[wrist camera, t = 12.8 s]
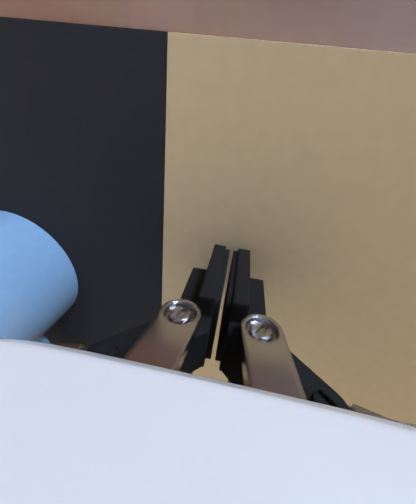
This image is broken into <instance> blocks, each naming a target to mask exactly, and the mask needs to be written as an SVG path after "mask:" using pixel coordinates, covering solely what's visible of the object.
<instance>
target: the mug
mask: <svg viewBox="0 0 416 504" xmlns="http://www.w3.org/2000/svg"><path fill="white" fill-rule="evenodd" d="M77 295H78V280H77V275H76V272H75V269H74V267H73V265H72V263H71V261H70V259H69V257H68V256H67V254H66V253H65V251H64V250H63V249H62V247H61V246H60V245H59V244H58V243H57V242H56V241H55V240H54V239H53V238H52V237H51V236H50V235H49V234H48V233H47V232H46V231H44V230H43V229H42V228H40V227H39V226H38V225H36V224H35V223H33V222H31V221H29V220H28V219H26V218H24V217H21V216H19V215H17V214H14V213H11V212H7V211H2V210H0V339H18V340H29V341H35V342H41V343H50V341H49V340H48V339H47V338H46V336H45V335H44V334H45V333H46V332H47V331H48V330H49V329H50V328H51V327H52V326H53V325H54V324H55V323H56V322H57V321H58V320H59V319H60V318H61V317H62V316H63V315H64V314H65V313H66V312H67V311H68V310H69V309H70V308H71V307H72V306H73V305H74V303H75V301H76V298H77Z"/></svg>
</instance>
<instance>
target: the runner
mask: <svg viewBox="0 0 416 504" xmlns="http://www.w3.org/2000/svg"><path fill="white" fill-rule="evenodd" d="M0 210H2V211H7V212H11V213H14V214H17V215H19V216H21V217H24V218H26V219H28V220H29V221H31V222H33V223H35V224H36V225H38V226H39V227H40V228H42V229H43V230H44V231H46V232H47V233H48V234H49V235H50V236H51V237H52V238H53V239H54V240H55V241H56V242H57V243H58V244H59V245H60V246H61V247H62V249H63V250H64V251H65V253H66V254H67V256H68V257H69V259H70V261H71V263H72V265H73V267H74V269H75V272H76V275H77V280H78V295H77V298H76V301H75V303H74V305H73V306H72V307H71V308H70V309H69V310H68V311H67V312H66V313H65V314H64V315H63V316H62V317H61V318H60V319H59V320H58V321H57V322H56V323H55V324H54V325H53V326H52V327H51V328H50V329H49V330H48V331H47V332H46V333H45V334H44V335H45V336H46V338H47V339H48V340H49V341H50V343H84V347H89V346H91V345H92V344H94V343H96V342H98V341H100V340H102V339H105V338H108V337H110V336H113V335H115V334H118V333H121V332H123V331H126V330H129V329H131V328H134V327H136V326H139V325H142V324H144V323H147V322H150V321H151V320H152V318H153V317H154V316H155V315H156V313H157V312H158V311H159V309H160V308H161V307H162V306H163V305H164V304H165V303H166V302H168V301H170V300H174V299H180V298H181V296H182V293H183V291H184V289H185V286H186V284H187V281H188V279H189V277H190V274H191V272H192V269H193V268H194V267H195V268H201V269H206V270H207V268H208V265H209V261H210V258H211V255H212V252H213V249H214V245H215V244H217V245H222V246H226V249H228V250H230V253H229V259H228V265H227V270H226V276H225V282H224V288H223V294H222V299H221V305H220V310H219V316H218V321H217V327H216V333H215V338H214V344H213V349H212V355H211V359H207V358H205V363H204V367H200V368H199V369H197V370H195V371H193V374H194V375H198V376H203V377H207V378H211V379H216V380H220V381H225V382H227V377H226V376H225V375H224V374H223V372H222V371H220V370H219V366H220V361H216V360H215V357H216V350H217V344H218V337H219V331H220V325H221V318H222V312H223V305H224V299H225V294H226V289H227V283H228V278H229V273H230V267H231V262H232V257H233V252H234V251H238V249H245V250H250V278H255V279H260V280H263V284H264V297H265V309H266V316H268V317H270V318H272V319H273V320H275V321H276V322H277V323H278V324H279V325H280V326H281V328H282V330H283V332H284V335H285V338H286V340H287V343H288V346H289V349H290V351H291V352H292V353H293V354H294V355H295V356H296V357H297V358H298V359H300V360H301V361H302V362H303V363H304V364H305V365H306V366H307V367H309V368H310V369H311V370H312V371H313V372H314V373H315V374H316V375H318V376H319V377H320V378H321V379H322V380H323V381H324V382H325V383H327V384H328V385H329V386H330V387H331V388H332V389H333V390H334V391H336V392H337V393H338V394H339V395H340V396H341V398H342V399H343V400H344V401H345V402H346V404H347V405H349V406H352V405H353V403H354V404H356V405H358V406H361V407H363V408H365V409H368V410H370V411H372V412H375V413H377V414H379V415H382V416H384V417H386V418H389V419H393V420H398V421H402V422H407V423H411V424H416V54H409V53H398V52H387V51H376V50H364V49H353V48H342V47H331V46H320V45H309V44H298V43H286V42H275V41H264V40H253V39H242V38H231V37H220V36H208V35H197V34H186V33H175V32H164V31H153V30H142V29H130V28H119V27H108V26H97V25H86V24H75V23H64V22H52V21H41V20H30V19H19V18H8V17H0Z"/></svg>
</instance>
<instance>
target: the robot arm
mask: <svg viewBox="0 0 416 504" xmlns="http://www.w3.org/2000/svg"><path fill="white" fill-rule="evenodd" d="M229 253H230V250H228V249H226V246H222V245H217V244H215V245H214V249H213V252H212V255H211V258H210V261H209V265H208V268H207V270H206V269H201V268H195V267H194V268H193V269H192V272H191V274H190V277H189V279H188V281H187V284H186V286H185V289H184V291H183V293H182V296H181V298H180V299H174V300H170V301H168V302H166V303H165V304H164V305H163V306H162V307H161V308H160V309H159V311H158V312H157V313H156V315H155V316H154V317H153V318H152V320H151V321H150V322H147V323H144V324H142V325H139V326H136V327H134V328H131V329H129V330H126V331H123V332H121V333H118V334H115V335H113V336H110V337H108V338H105V339H102V340H100V341H98V342H96V343H94V344H92V345H91V346H89V347H84V343H41V342H35V341H29V340H18V339H0V504H416V427H412V426H408V425H405V424H402V423H398V422H396V421H394V420H391V419H389V418H386V417H384V416H382V415H379V414H377V413H375V412H372V411H370V410H368V409H365V408H363V407H361V406H358V405H356V404H354V403H353V405H352V406H349V405H347V404H346V402H345V401H344V400H343V399H342V398H341V396H340V395H339V394H338V393H337V392H336V391H334V390H333V389H332V388H331V387H330V386H329V385H328V384H327V383H325V382H324V381H323V380H322V379H321V378H320V377H319V376H318V375H316V374H315V373H314V372H313V371H312V370H311V369H310V368H309V367H307V366H306V365H305V364H304V363H303V362H302V361H301V360H300V359H298V358H297V357H296V356H295V355H294V354H293V353H292V352H291V351H290V349H289V346H288V343H287V340H286V338H285V335H284V332H283V330H282V328H281V326H280V325H279V324H278V323H277V322H276V321H275V320H273V319H272V318H270V317H268V316H266V309H265V297H264V284H263V280H260V279H255V278H250V250H245V249H238V251H234V252H233V257H232V262H231V267H230V273H229V278H228V283H227V289H226V294H225V299H224V305H223V312H222V318H221V325H220V331H219V337H218V344H217V350H216V357H215V360H216V361H220V366H219V370H220V371H222V372H223V374H224V375H225V376H226V377H227V382H225V381H220V380H216V379H211V378H207V377H203V376H198V375H194V374H193V371H195V370H197V369H199V368H200V367H204V363H205V358H207V359H211V355H212V349H213V344H214V338H215V333H216V327H217V321H218V316H219V310H220V305H221V299H222V294H223V288H224V282H225V276H226V270H227V265H228V259H229Z"/></svg>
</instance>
